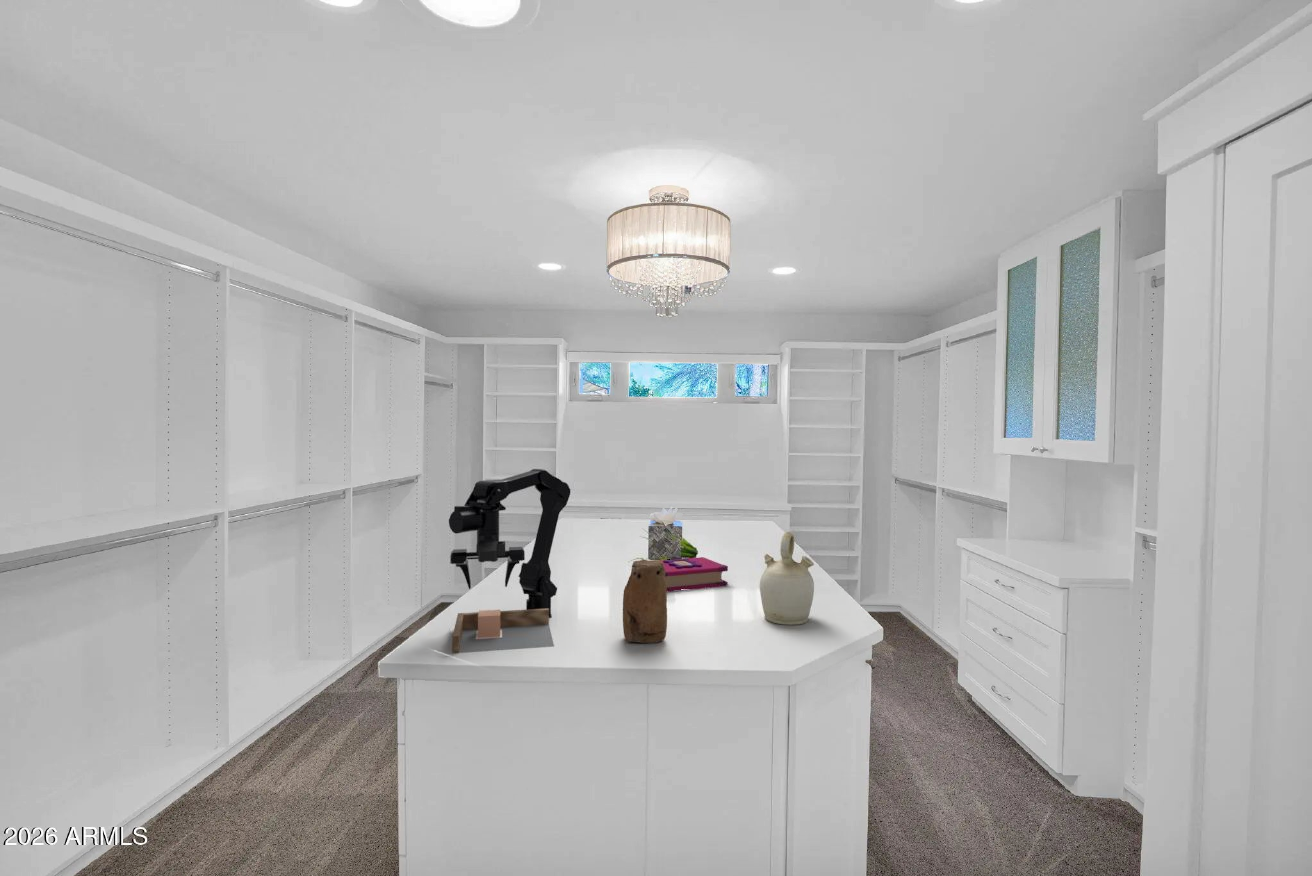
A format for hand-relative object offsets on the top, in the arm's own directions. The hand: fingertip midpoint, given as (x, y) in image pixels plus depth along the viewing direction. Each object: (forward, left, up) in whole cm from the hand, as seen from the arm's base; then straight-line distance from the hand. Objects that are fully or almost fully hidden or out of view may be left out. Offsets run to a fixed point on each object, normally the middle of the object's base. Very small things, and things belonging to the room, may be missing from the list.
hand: (488, 587), depth 169 cm
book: (-65, -45, -13) cm, 80 cm away
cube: (0, +3, -11) cm, 12 cm away
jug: (-83, +5, -12) cm, 84 cm away
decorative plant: (-69, -81, -12) cm, 107 cm away
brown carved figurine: (-39, +15, -12) cm, 44 cm away
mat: (-4, +6, -12) cm, 14 cm away
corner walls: (-4, +6, -12) cm, 14 cm away
